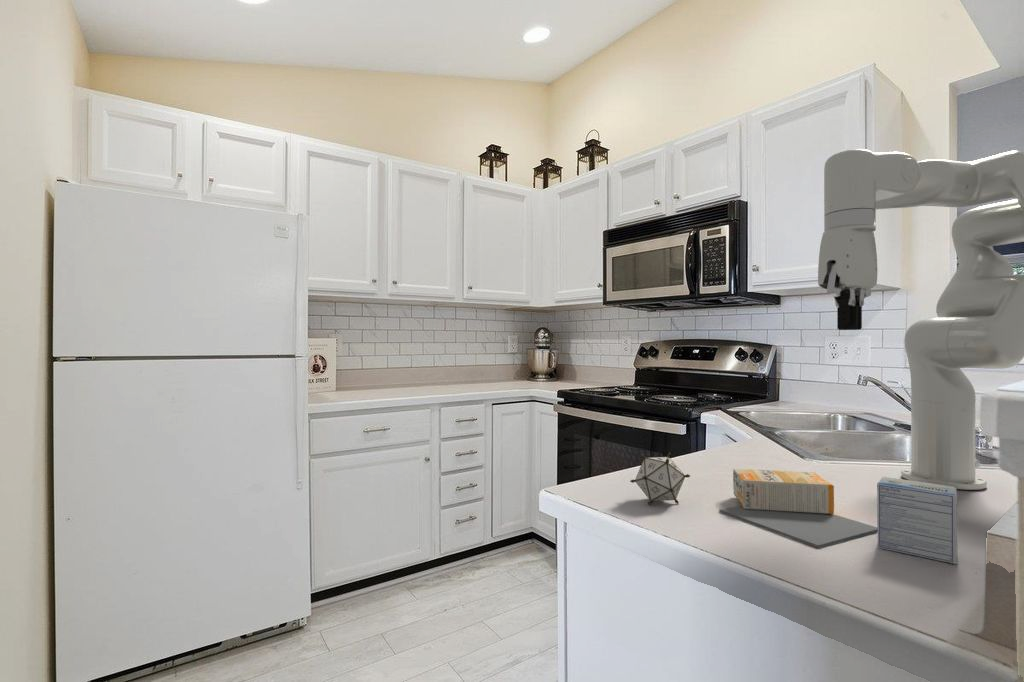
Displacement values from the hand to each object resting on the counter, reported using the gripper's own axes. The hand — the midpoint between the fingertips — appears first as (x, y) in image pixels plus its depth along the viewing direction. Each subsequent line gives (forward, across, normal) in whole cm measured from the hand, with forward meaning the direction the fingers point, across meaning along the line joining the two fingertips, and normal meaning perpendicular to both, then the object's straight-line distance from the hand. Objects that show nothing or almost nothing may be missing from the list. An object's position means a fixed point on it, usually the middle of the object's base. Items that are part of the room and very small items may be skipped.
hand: (849, 329), depth 90 cm
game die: (+29, +32, -12) cm, 45 cm away
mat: (+29, +20, +4) cm, 36 cm away
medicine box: (+29, +16, +18) cm, 38 cm away
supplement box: (+26, +11, +3) cm, 29 cm away
